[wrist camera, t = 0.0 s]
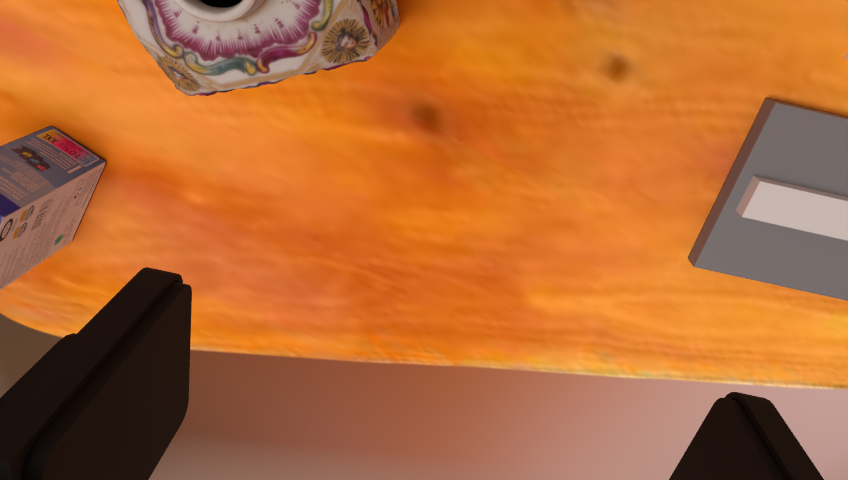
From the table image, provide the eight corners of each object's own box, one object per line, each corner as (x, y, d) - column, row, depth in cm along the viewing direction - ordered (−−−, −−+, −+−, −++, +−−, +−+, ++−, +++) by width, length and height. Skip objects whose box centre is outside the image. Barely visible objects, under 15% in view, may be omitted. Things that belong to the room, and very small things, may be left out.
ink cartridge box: (46, 120, 47) (-110, 185, 34) (109, 157, 49) (-19, 234, 36) (13, 209, 51) (-138, 298, 38) (72, 242, 53) (-55, 338, 40)
